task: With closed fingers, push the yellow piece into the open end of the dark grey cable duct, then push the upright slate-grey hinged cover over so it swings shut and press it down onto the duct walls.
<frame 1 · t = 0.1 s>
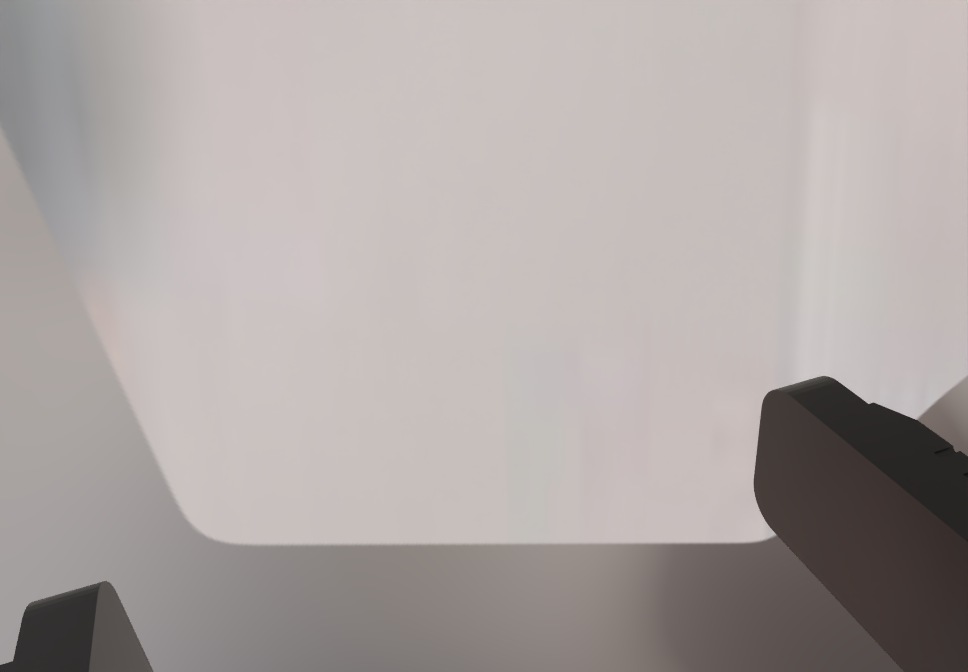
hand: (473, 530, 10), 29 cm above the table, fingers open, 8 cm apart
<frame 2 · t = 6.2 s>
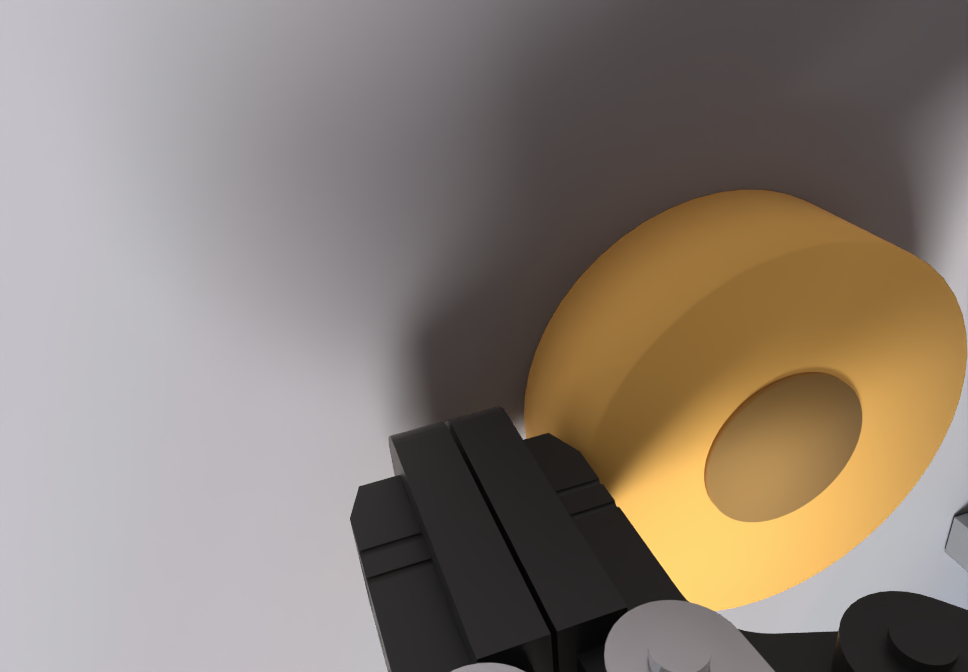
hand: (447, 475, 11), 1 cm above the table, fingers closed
yellow piece: (696, 368, 13), on the table
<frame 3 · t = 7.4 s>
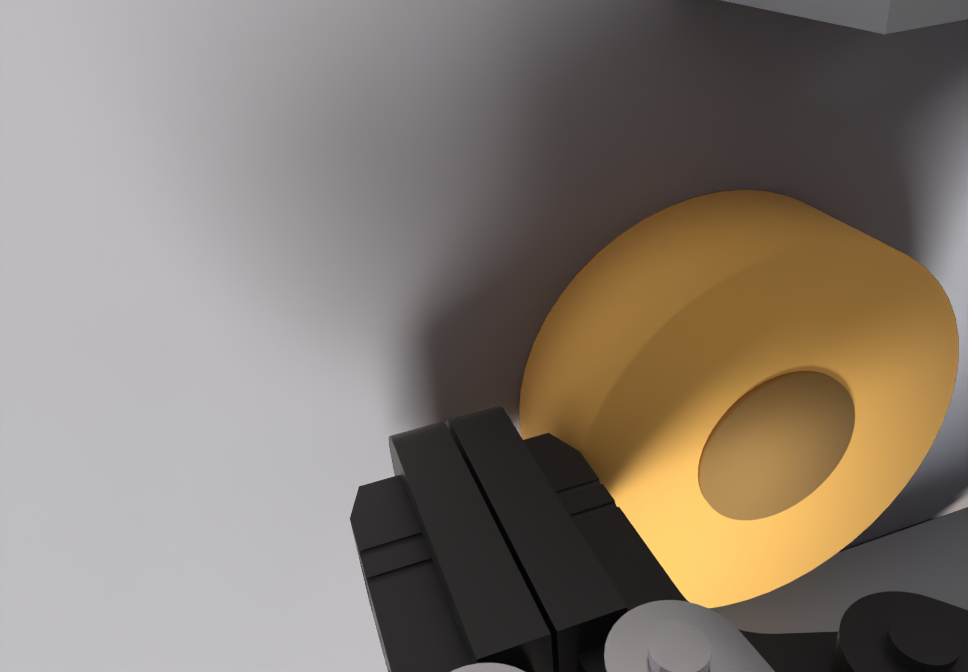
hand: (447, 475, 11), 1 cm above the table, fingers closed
yellow piece: (690, 366, 13), on the table, touching gripper
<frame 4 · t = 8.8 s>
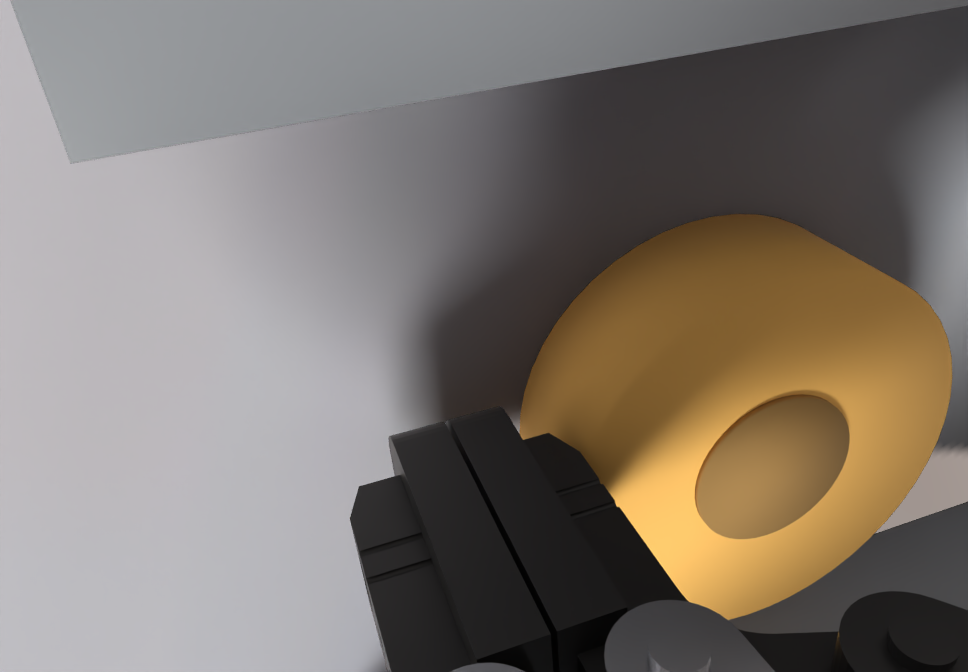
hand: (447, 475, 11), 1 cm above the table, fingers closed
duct: (962, 285, 14), on the table
yellow piece: (688, 385, 13), on the table, touching gripper
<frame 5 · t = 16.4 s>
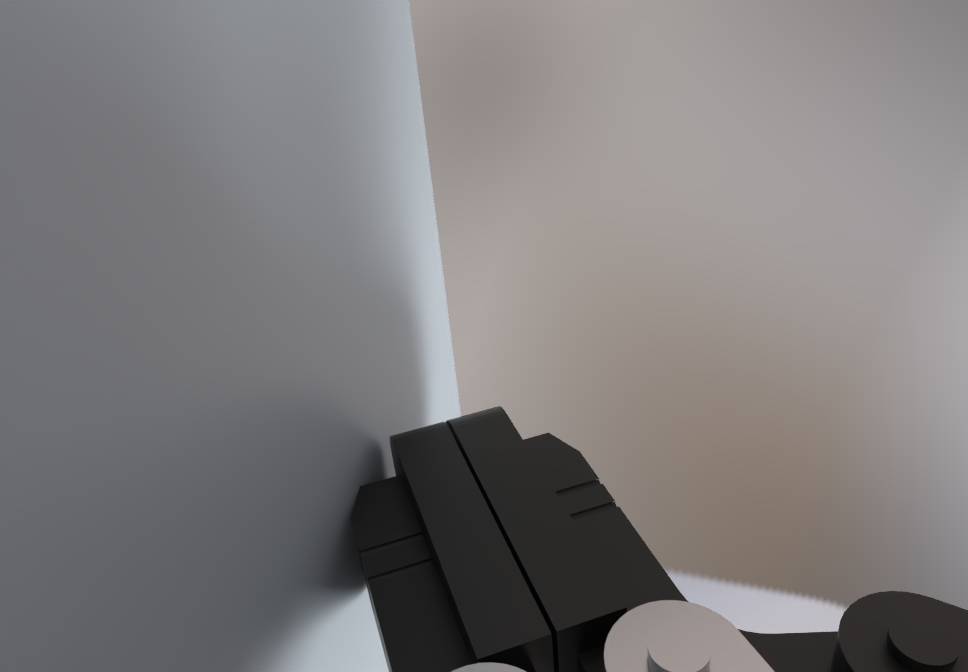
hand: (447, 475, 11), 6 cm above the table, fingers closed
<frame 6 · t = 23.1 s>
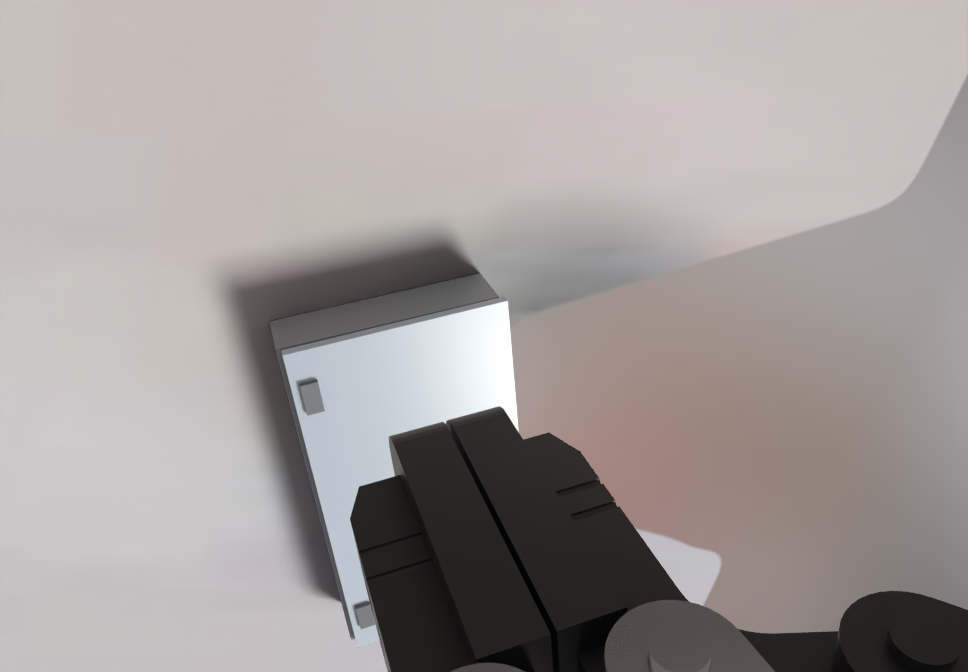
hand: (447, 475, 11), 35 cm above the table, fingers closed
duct: (405, 452, 54), on the table
cover: (425, 488, 51), point 4 cm above the table, hinge at 0.5°
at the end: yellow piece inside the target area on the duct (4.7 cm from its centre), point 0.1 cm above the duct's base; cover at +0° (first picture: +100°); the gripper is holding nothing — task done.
